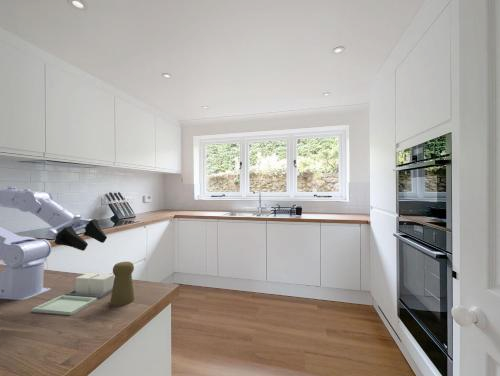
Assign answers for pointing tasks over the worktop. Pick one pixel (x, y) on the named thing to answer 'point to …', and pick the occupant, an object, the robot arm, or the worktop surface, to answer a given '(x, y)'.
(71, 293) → the tray
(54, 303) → the tray
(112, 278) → the stone block
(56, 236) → the robot arm
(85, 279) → the stone block
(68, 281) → the worktop surface
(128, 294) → the cork
